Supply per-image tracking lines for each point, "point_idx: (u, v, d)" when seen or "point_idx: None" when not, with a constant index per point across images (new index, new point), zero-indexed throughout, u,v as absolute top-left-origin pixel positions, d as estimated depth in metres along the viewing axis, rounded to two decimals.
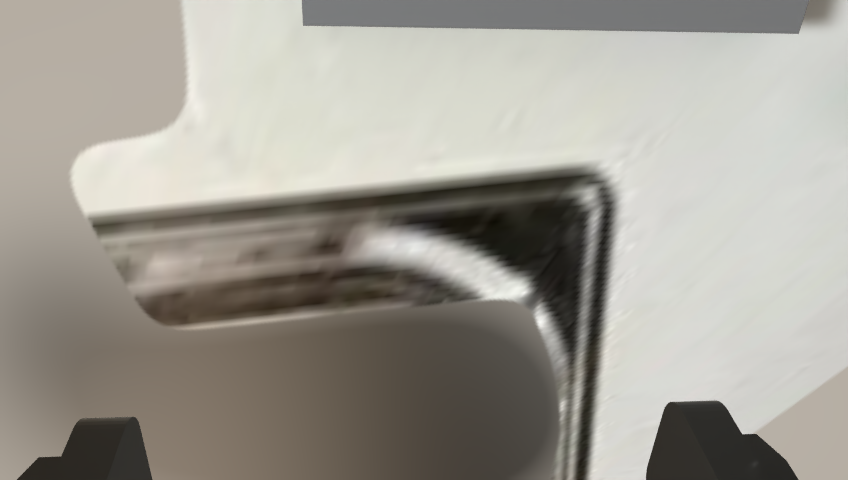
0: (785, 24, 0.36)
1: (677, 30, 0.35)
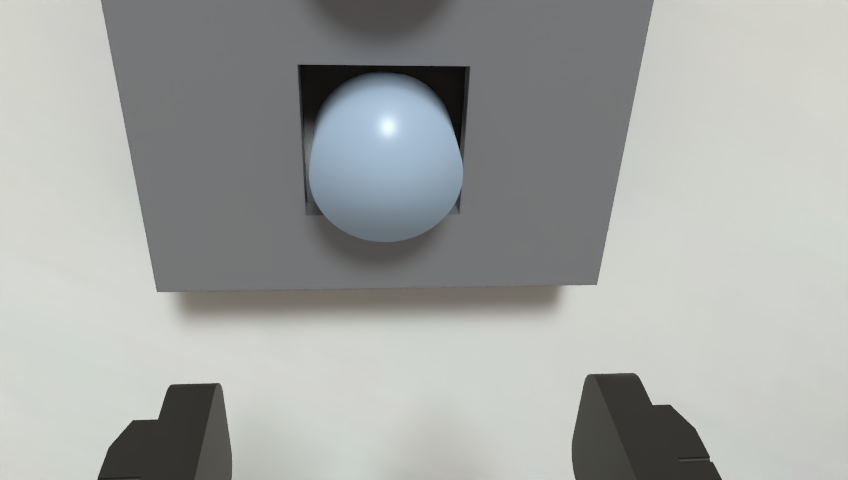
0: (167, 270, 0.22)
1: (123, 104, 0.19)
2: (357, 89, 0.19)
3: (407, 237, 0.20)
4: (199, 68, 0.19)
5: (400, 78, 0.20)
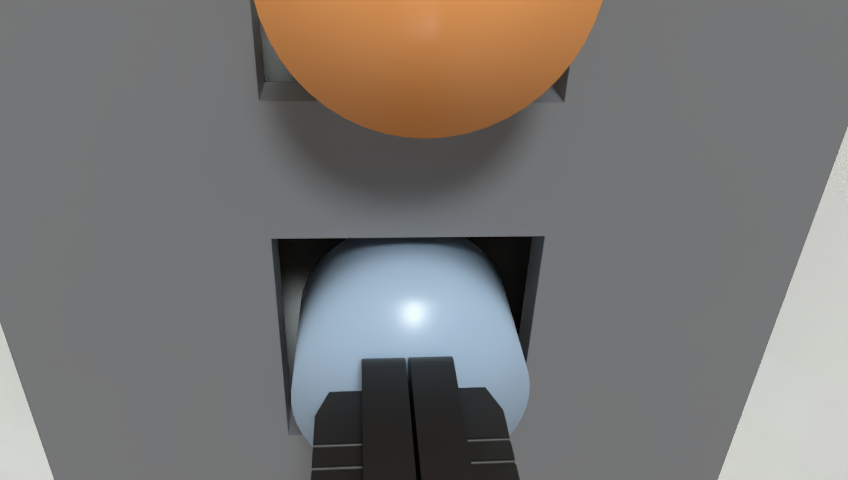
0: None
1: None
2: (366, 261, 0.12)
3: None
4: (113, 247, 0.12)
5: None
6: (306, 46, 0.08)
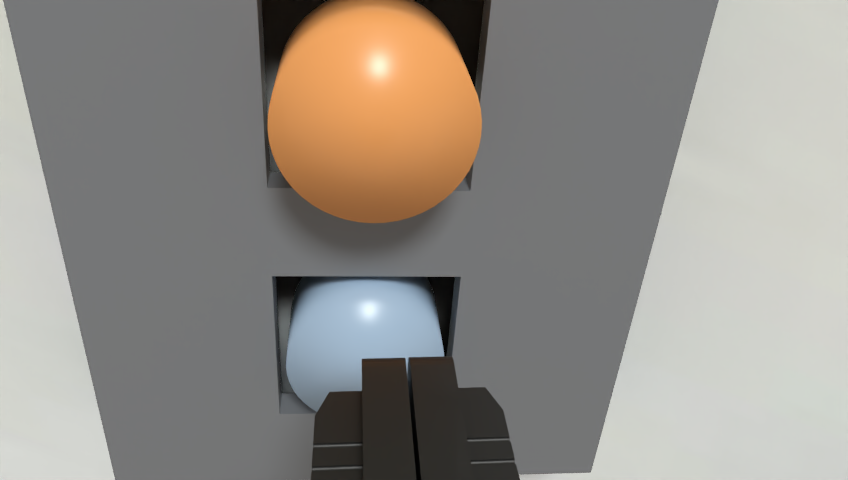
0: (128, 465, 0.21)
1: (79, 314, 0.18)
2: None
3: None
4: (163, 280, 0.17)
5: None
6: (300, 170, 0.14)
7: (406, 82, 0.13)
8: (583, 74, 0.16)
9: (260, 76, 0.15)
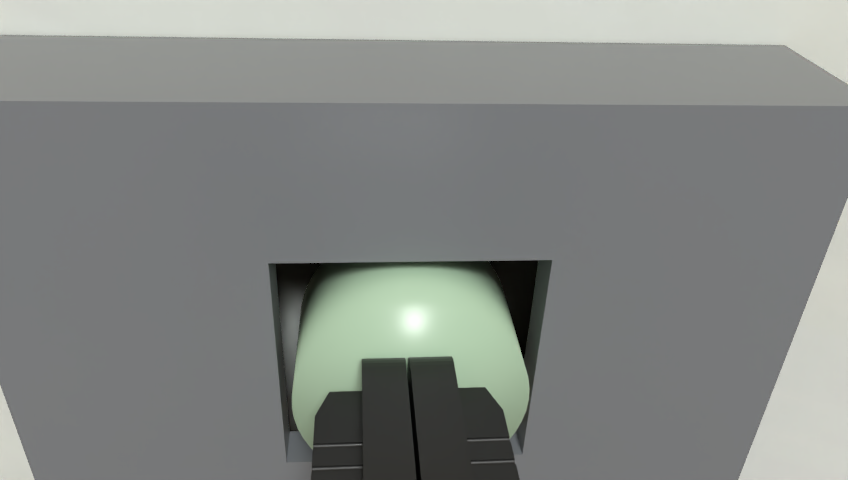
0: None
1: None
2: None
3: None
4: None
5: None
6: None
7: None
8: None
9: None
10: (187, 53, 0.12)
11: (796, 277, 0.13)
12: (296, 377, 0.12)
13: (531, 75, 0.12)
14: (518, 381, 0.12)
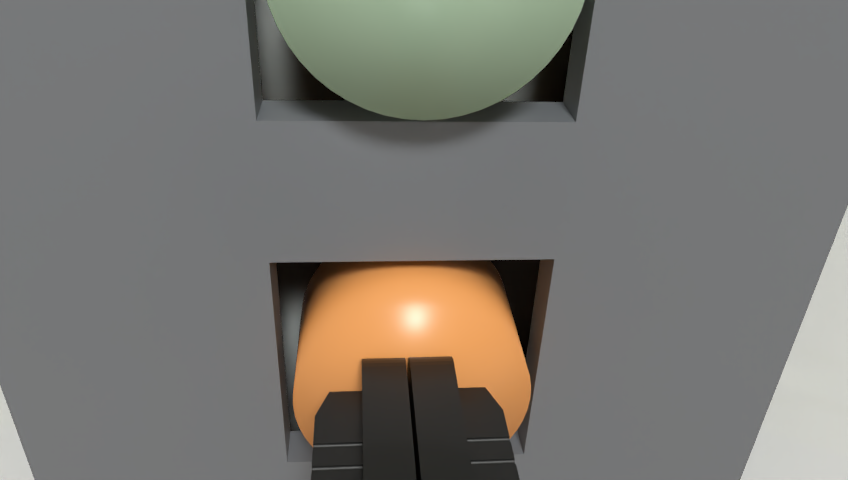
0: None
1: None
2: None
3: None
4: None
5: None
6: None
7: None
8: (660, 339, 0.13)
9: (277, 359, 0.13)
10: None
11: None
12: None
13: None
14: None
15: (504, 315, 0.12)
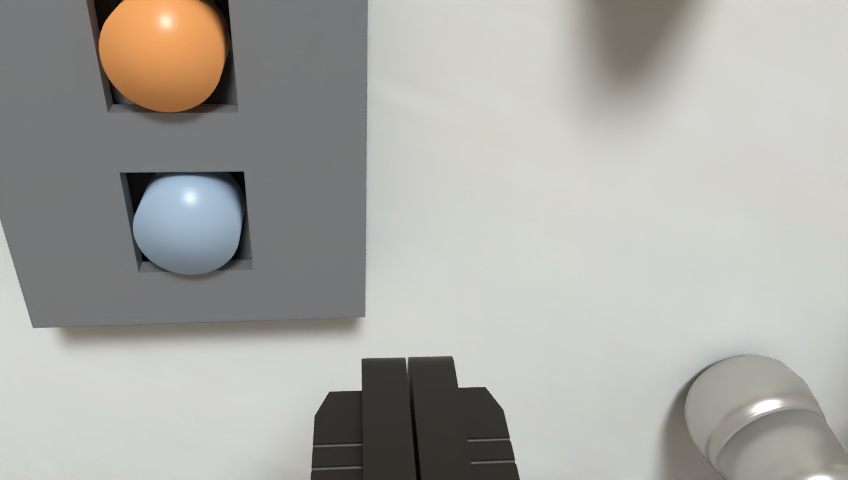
0: (39, 312, 0.31)
1: None
2: (167, 173, 0.29)
3: (207, 271, 0.30)
4: (49, 176, 0.27)
5: None
6: (122, 80, 0.25)
7: (173, 29, 0.24)
8: (294, 36, 0.26)
9: (93, 41, 0.25)
10: None
11: None
12: None
13: None
14: None
15: (207, 14, 0.25)
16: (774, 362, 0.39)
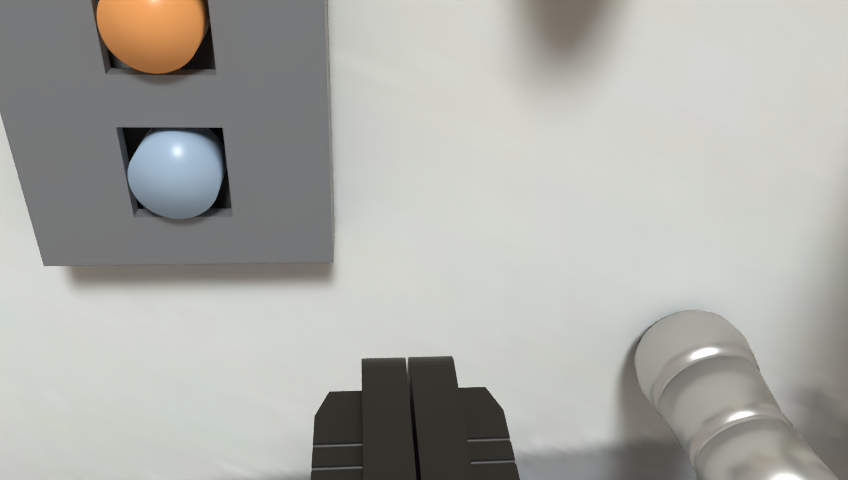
0: (49, 251, 0.35)
1: (12, 150, 0.32)
2: (157, 129, 0.33)
3: (192, 216, 0.34)
4: (56, 129, 0.32)
5: None
6: (116, 45, 0.30)
7: (159, 1, 0.29)
8: (262, 8, 0.30)
9: (93, 12, 0.30)
10: None
11: None
12: None
13: None
14: None
15: None
16: (714, 316, 0.43)
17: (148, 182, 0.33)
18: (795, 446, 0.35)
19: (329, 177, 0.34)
